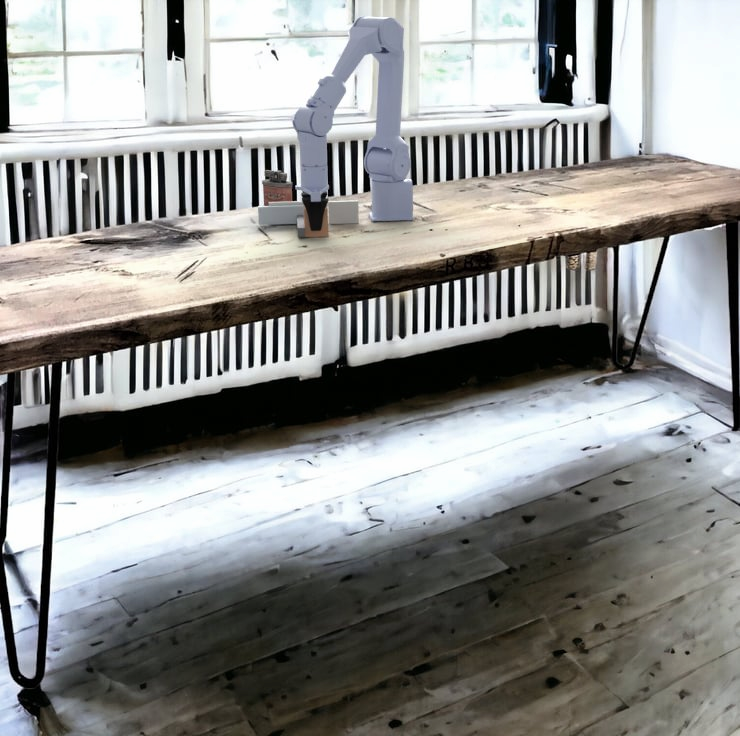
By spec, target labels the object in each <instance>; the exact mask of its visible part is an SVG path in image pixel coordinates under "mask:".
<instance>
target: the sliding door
mask: <svg viewBox="0 0 740 736" xmlns="http://www.w3.org/2000/svg"><path fill="white" fill-rule="evenodd" d="M257 210H258V211H257V214H258V217H257V218H258V226H265V225H268V226H270V225H272V226H273V225H296V227H297V229H296V230H297V238H306V237H305V225H304V216H303V205H285V206H264V205H260V206H259V205H258V206H257Z"/></svg>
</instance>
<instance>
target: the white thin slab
mask: <svg viewBox="0 0 740 736" xmlns="http://www.w3.org/2000/svg"><path fill="white" fill-rule="evenodd" d="M285 205H303V216H304V204H303V202H302V200H297V201H296V200H294V201H293V200H292V201H289V202H269V206H285ZM327 208H328V225H341V224H342V225H344V224H359V222H360V221H359V219H360V218H359V200H357V199H356V200H329V201H328V204H327Z"/></svg>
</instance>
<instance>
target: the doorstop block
mask: <svg viewBox="0 0 740 736" xmlns="http://www.w3.org/2000/svg"><path fill="white" fill-rule="evenodd" d="M304 225H305V237H304V238H316V237H317V238H318V237H320V238H322V237H329V213H328V205H327V206H326V208H325V211H324V216H323V223H322V228H321V231H311V228H310V224H309V218H308V214H307V211H306V208H305V206H304Z"/></svg>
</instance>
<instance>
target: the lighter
mask: <svg viewBox="0 0 740 736" xmlns="http://www.w3.org/2000/svg"><path fill="white" fill-rule="evenodd" d="M263 174H264V177H269V178H268V179H267V178H266V179H263V180H261V184H262V192H263V206H269V202H289V201H293V191H292V189H293V182H292V181H287V180H288V173H287V172H282V170H276V171H275V170H269V169H266V170H264V173H263Z"/></svg>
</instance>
